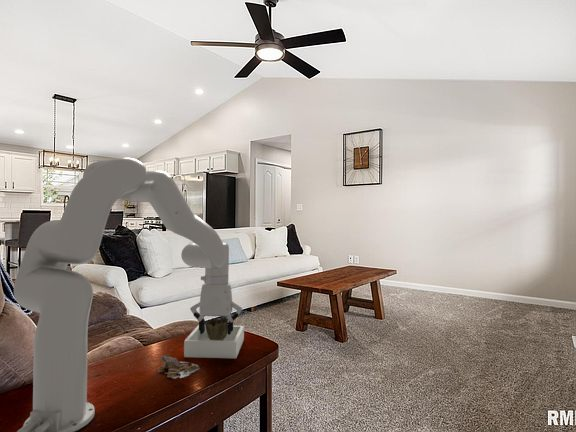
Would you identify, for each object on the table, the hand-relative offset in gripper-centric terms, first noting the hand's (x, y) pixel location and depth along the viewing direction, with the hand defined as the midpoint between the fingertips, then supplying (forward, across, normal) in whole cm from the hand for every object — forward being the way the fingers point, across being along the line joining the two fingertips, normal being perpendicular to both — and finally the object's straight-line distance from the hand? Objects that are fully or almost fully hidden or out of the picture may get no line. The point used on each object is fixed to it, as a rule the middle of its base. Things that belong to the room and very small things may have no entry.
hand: (216, 332), depth 117 cm
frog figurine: (+6, -8, -17) cm, 19 cm away
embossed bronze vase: (+4, +1, 0) cm, 4 cm away
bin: (+5, 0, 0) cm, 5 cm away
